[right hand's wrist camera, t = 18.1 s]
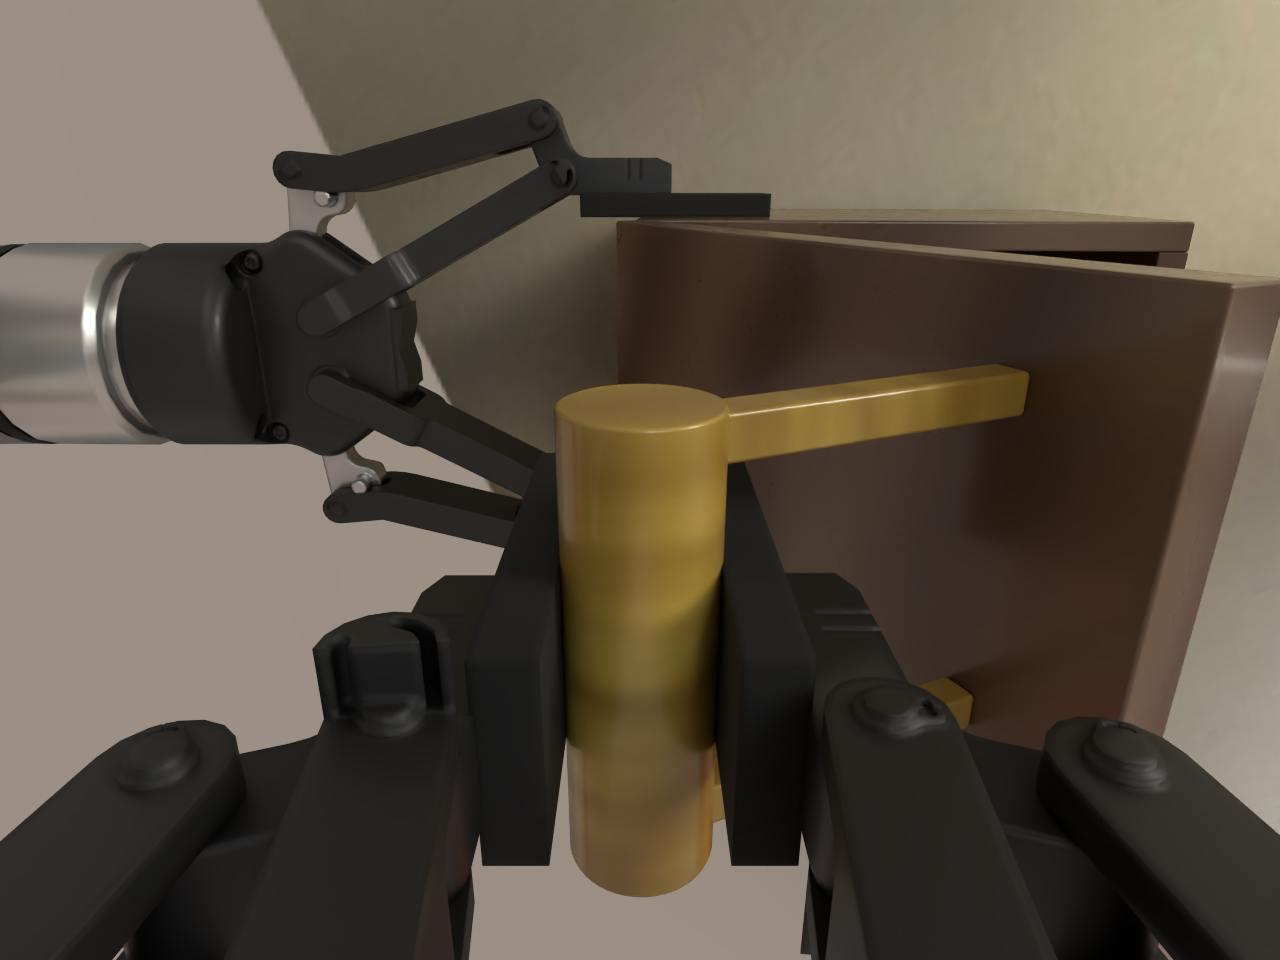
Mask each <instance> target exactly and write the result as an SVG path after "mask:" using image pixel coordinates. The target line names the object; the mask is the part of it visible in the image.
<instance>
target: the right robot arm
mask: <svg viewBox="0 0 1280 960" xmlns="http://www.w3.org/2000/svg"><path fill="white" fill-rule="evenodd" d="M312 650H313V656H314V661H315V667H316V674H317V679H318V686H319V692H320V698H321V704H322V710H323V716H324V720H323V723H322V725H321V728H320V730H319V732H318V735H315V736H313V737H311V738H307V739H304V740H301V741H297V742H293V743H290V744H285V745H280V746H276V747H271V748H266V749H261V750H257V751H252V752H247V753H242V754H239V750H238V746H237V741H236V737H235V735H234V734H233V733H232V732H231V731H230V730H229V729H228V728H227V727H226V726H225V725H222V724H218V723H214V722H210V721H207V720H189V721H176V722H171V723H166V724H164V725H162V724H161V725H158V726H154V727H151V728H148V729H146V730H144V731H141V732H139V733H137V734H135V735H132V736H130V737H128V738H126V739H123V740H121V741H119V742H118V743H116V744H115V745H114V746H112V747H111V748H109V749H108V750H106V751H105V752H103V753H102V754H101V755H99V756H98V757H96V758H95V759H94V760H93V761H92V762H90V763H89V764H88V765H87V766H86V767H85V768H84V769H83V770H81V771H80V772H79V773H78V774H77V775H76V776H75V777H73V778H72V779H71V780H70V781H69V782H68V783H66V784H65V785H64V786H63V787H62V788H61V789H60V790H59V791H57V792H56V793H55V794H54V795H53V796H52V797H50V798H49V799H48V800H47V801H46V802H45V803H44V804H43V805H41V806H40V807H39V808H38V809H37V810H36V811H35V812H33V813H32V814H31V815H30V816H29V817H28V818H27V819H25V820H24V821H23V822H22V823H21V824H20V825H19V826H17V827H16V828H15V829H14V830H13V831H12V832H11V833H9V834H8V835H7V836H6V837H5V838H4V839H3V840H2V841H0V960H112V959H113V958H114V957H115V956H116V954H117V953H118V952H119V951H120V950H121V948H122V947H123V948H124V951H123V952H122V953H121V954H120V956H119V957H118V958H117V959H116V960H469V951H470V941H471V932H472V922H473V912H474V891H473V881H472V871H471V866H472V862H473V858H474V854H475V850H476V846H477V842H478V838H479V834H480V844H481V855H482V865H483V866H549V863H550V856H551V848H552V841H553V833H554V826H555V818H556V810H557V802H558V795H559V788H560V780H561V772H562V765H563V757H564V750H565V742H566V713H565V687H564V660H563V634H562V608H561V582H560V556H559V530H558V504H557V478H556V453H539V456H538V459H537V462H536V464H535V467H534V470H533V473H532V475H531V478H530V481H529V483H528V486H527V489H526V492H525V494H524V497H523V500H522V503H521V505H520V508H519V511H518V513H517V516H516V519H515V522H514V524H513V527H512V530H511V533H510V535H509V538H508V541H507V543H506V546H505V549H504V552H503V554H502V557H501V560H500V563H499V565H498V568H497V571H496V574H495V575H445V576H444V577H442V578H441V579H440V580H438V581H437V582H436V583H434V584H433V585H432V586H430V587H429V588H428V589H426V590H425V591H423V592H422V593H421V595H420V597H419V599H418V601H417V603H416V605H415V607H414V609H413V610H412V612H411V613H409V612H389V613H381V614H375V615H368V616H365V617H362V618H359V619H356V620H353V621H350V622H347V623H344V624H342V625H341V626H339V627H337V628H336V629H334V630H332V631H331V632H329V633H327V634H326V635H324V636H323V638H322V639H321V640H320V641H319V642H318V643H317V644H316V646H315V647H314V648H313V649H312ZM715 744H716V752H717V759H718V767H719V775H720V782H721V790H722V797H723V805H724V812H725V820H726V827H727V835H728V842H729V850H730V858H731V865H732V866H798V864H799V852H800V842H801V831H802V834H803V838H804V842H805V847H806V851H807V855H808V858H809V871H808V881H807V891H806V902H805V912H804V922H803V933H802V943H801V954H809V955H811V959H812V960H1168V959H1167V957H1166V956H1165V955H1164V954H1163V953H1162V951H1161V950H1160V949H1159V948H1158V945H1159V943H1160V944H1161V945H1162V946H1163V948H1164V949H1165V950H1166V951H1167V952H1168V954H1169V955H1170V956H1171V957H1172V959H1173V960H1280V835H1279V834H1278V833H1277V832H1275V831H1274V830H1273V829H1272V828H1271V827H1270V826H1269V825H1267V824H1266V823H1265V822H1264V821H1263V820H1262V819H1260V818H1259V817H1258V816H1257V815H1256V814H1255V813H1254V812H1252V811H1251V810H1250V809H1249V808H1248V807H1247V806H1245V805H1244V804H1243V803H1242V802H1241V801H1240V800H1239V799H1237V798H1236V797H1235V796H1234V795H1233V794H1232V793H1231V792H1229V791H1228V790H1227V789H1226V788H1225V787H1224V786H1222V785H1221V784H1220V783H1219V782H1218V781H1217V780H1216V779H1214V778H1213V777H1212V776H1211V775H1210V774H1209V773H1207V772H1206V771H1205V770H1204V769H1203V768H1202V767H1201V766H1199V765H1198V764H1197V763H1196V762H1195V761H1194V760H1193V759H1191V758H1190V757H1189V756H1188V755H1187V754H1186V753H1184V752H1183V751H1181V750H1180V749H1178V748H1177V747H1175V746H1174V745H1172V744H1171V743H1169V742H1168V741H1167V740H1165V739H1164V738H1162V737H1160V736H1158V735H1156V734H1153V733H1151V732H1149V731H1146V730H1144V729H1142V728H1140V727H1138V726H1136V725H1133V724H1130V723H1126V722H1123V721H1117V720H1115V719H1108V718H1104V717H1081V716H1077V717H1073V718H1069V719H1065V720H1062V721H1058V722H1057V723H1055V724H1054V725H1053V726H1052V727H1051V728H1050V729H1049V730H1048V731H1047V732H1046V736H1045V741H1044V746H1043V750H1042V751H1041V750H1036V749H1032V748H1027V747H1022V746H1017V745H1012V744H1008V743H1003V742H998V741H993V740H989V739H986V738H982V737H979V736H975V735H972V734H969V733H967V732H964V731H962V730H961V729H960V726H959V724H958V722H957V719H956V717H955V716H954V715H953V713H952V712H951V711H950V709H949V708H948V706H947V705H946V704H945V702H943V701H942V700H940V699H939V698H937V697H936V696H934V695H933V694H932V693H930V692H929V691H927V690H926V689H923V688H920V687H918V686H915V685H913V684H910V683H909V682H908V681H907V679H906V677H905V675H904V673H903V671H902V669H901V668H900V666H899V664H898V662H897V660H896V658H895V656H894V654H893V653H892V651H891V649H890V647H889V645H888V643H887V641H886V639H885V638H884V636H883V634H882V632H881V631H879V626H878V624H877V623H876V621H875V619H874V617H873V615H872V614H870V609H869V608H868V606H867V604H866V602H865V600H864V598H863V596H862V594H861V593H860V591H859V590H858V589H857V588H856V587H854V586H853V585H852V584H850V583H849V582H847V581H846V580H845V579H843V578H842V577H841V576H839V575H838V574H837V573H785V571H784V569H783V566H782V563H781V561H780V558H779V555H778V552H777V550H776V547H775V544H774V541H773V539H772V536H771V533H770V531H769V528H768V525H767V522H766V520H765V517H764V514H763V512H762V509H761V506H760V503H759V501H758V498H757V495H756V493H755V490H754V487H753V484H752V482H751V479H750V476H749V473H748V471H747V468H746V465H745V463H744V462H738V463H732V464H728V467H727V492H726V516H725V540H724V561H723V565H722V587H721V612H720V636H719V661H718V686H717V711H716V735H715Z"/></svg>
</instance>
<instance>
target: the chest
mask: <svg viewBox="0 0 1280 960" xmlns="http://www.w3.org/2000/svg"><path fill="white" fill-rule="evenodd" d="M649 220H651V221H662V222H673V223H684V224H695V225H706V226H716V227H727V228H738V229H749V230H760V231H771V232H782V233H793V234H804V235H815V236H826V237H837V238H848V239H859V240H870V241H880V242H891V243H902V244H913V245H924V246H935V247H946V248H957V249H968V250H979V251H990V252H1001V253H1012V254H1023V255H1033V256H1044V257H1055V258H1066V259H1077V260H1088V261H1099V262H1110V263H1121V264H1132V265H1143V266H1154V267H1165V268H1176V269H1185V264H1186V260H1187V256H1188V253H1187V251H1188V250H1189V246H1190V241H1191V237H1192V233H1193V228H1194V222H1188V221H1176V220H1163V219H1151V218H1138V217H1125V216H1113V215H1100V214H1088V213H1075V212H1063V211H1050V210H871V209H770V217H656V216H643V217H641V218H639V219H638V220H636V221H649Z"/></svg>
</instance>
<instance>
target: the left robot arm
mask: <svg viewBox="0 0 1280 960" xmlns="http://www.w3.org/2000/svg"><path fill="white" fill-rule="evenodd" d="M531 147H532V149H533V151H534V154H535V157H536V159H537V162H538V164H539V167H538V168H536V169H535V170H533V171H531V172H530V173H528V174H526V175H525V176H523V177H521V178H520V179H518V180H516V181H515V182H513V183H511V184H509V185H508V186H506V187H504V188H503V189H501V190H499V191H498V192H496V193H494V194H493V195H491V196H489V197H487V198H486V199H484V200H482V201H481V202H479V203H477V204H476V205H474V206H472V207H471V208H469V209H467V210H466V211H464V212H462V213H460V214H459V215H457V216H455V217H454V218H452V219H450V220H449V221H447V222H445V223H444V224H442V225H440V226H439V227H437V228H435V229H433V230H432V231H430V232H428V233H427V234H425V235H423V236H422V237H420V238H418V239H417V240H415V241H413V242H412V243H410V244H408V245H406V246H405V247H403V248H401V249H399V250H398V251H396V252H393V253H391V254H389V255H388V256H386V257H384V258H382V259H381V260H379V261H377V262H376V263H374V264H372V263H371V262H369V261H368V260H366V259H365V258H363V257H362V256H360V255H359V254H357V253H356V252H355V251H353V250H352V249H350V248H349V247H347V246H346V245H344V244H343V243H342V242H340V241H339V240H337V239H336V238H334V237H333V236H331V235H330V234H328V233H327V225H328V222H329V221H330V220H331V218H332V217H334V216H336V215H341V214H346V213H347V212H349V211H350V210H351V209H352V208H353V206H354V202H355V192H368V191H377V190H382V189H386V188H390V187H394V186H397V185H401V184H404V183H408V182H411V181H415V180H418V179H422V178H425V177H429V176H432V175H436V174H439V173H443V172H446V171H450V170H453V169H457V168H460V167H464V166H467V165H471V164H474V163H478V162H481V161H485V160H488V159H492V158H495V157H499V156H502V155H506V154H509V153H513V152H516V151H520V150H523V149H527V148H531ZM671 170H672V164H670V163H668V162H665V161H663V160H661V159H658V158H586V157H582V156H580V155H579V154H578V153H577V152H576V151H575V150H574V149H573V147H572V145H571V143H570V140H569V137H568V135H567V132H566V129H565V126H564V124H563V119H562V117H561V115H560V113H559V112H558V111H557V110H556V109H555V108H554V107H553V106H552V105H551V104H549V103H548V102H547V101H544V100H541V99H535V100H530V101H527V102H523V103H520V104H517V105H513V106H510V107H506V108H503V109H499V110H496V111H492V112H489V113H486V114H482V115H479V116H475V117H472V118H468V119H465V120H461V121H458V122H455V123H451V124H448V125H444V126H441V127H437V128H434V129H430V130H427V131H424V132H420V133H417V134H413V135H410V136H406V137H403V138H399V139H396V140H393V141H389V142H386V143H382V144H379V145H375V146H372V147H368V148H365V149H362V150H358V151H355V152H351V153H348V154H344V155H341V156H337V155H327V154H317V153H306V152H296V151H284V152H281V153H280V154H278V155H277V156H276V158H275V159H274V161H273V172H274V176H275V177H276V179H277V180H278V182H279V183H281V184H282V185H283V186H285V187H287V191H288V209H289V228H290V231H289V232H286V233H284V234H283V235H281V236H280V237H278V238H277V239H275V240H273V241H271V242H268V243H163V244H158V245H156V246H154V247H152V248H151V247H148V246H146V245H143V244H141V243H28V244H11V245H5V246H0V444H30V443H41V444H57V443H59V444H163V443H165V442H168V441H174V442H176V443H180V444H293V445H297V446H301V447H303V448H306V449H308V450H310V451H312V452H314V453H316V454H319V455H322V457H323V461H324V465H325V470H326V474H327V478H328V482H329V486H330V490H331V495H330V496H329V497H328V498H327V499H326V500H325V501H324V504H323V511H324V513H325V516H326V517H327V518H328V519H329V520H331V521H333V522H335V523H350V522H361V521H373V520H387V521H391V522H395V523H399V524H404V525H408V526H412V527H417V528H421V529H425V530H429V531H434V532H438V533H442V534H446V535H451V536H455V537H459V538H463V539H468V540H472V541H476V542H481V543H485V544H489V545H493V546H498V547H502V548H505V546H506V543H507V541H508V538H509V535H510V533H511V530H512V527H513V524H514V522H515V519H516V516H517V513H518V511H519V508H520V505H521V503H522V500H521V499H517V498H513V497H509V496H505V495H501V494H496V493H492V492H488V491H484V490H479V489H475V488H471V487H467V486H463V485H459V484H455V483H450V482H446V481H442V480H438V479H434V478H430V477H425V476H421V475H417V474H412V473H407V472H396V471H390V472H386V470H385V467H384V465H383V464H382V463H381V462H378V461H374V460H369V459H365V458H363V457H361V456H360V455H359V454H358V453H357V452H356V450H355V447H354V445H356V444H357V443H358V442H360V441H361V440H362V439H364V438H365V437H366V436H368V435H369V434H370V433H371V432H373V431H374V430H375V431H377V432H380V433H381V434H384V435H386V436H388V437H390V438H392V439H394V440H396V441H398V442H400V443H402V444H405V445H407V446H418V447H422V448H424V449H426V450H428V451H430V452H432V453H434V454H436V455H438V456H441V457H443V458H445V459H447V460H449V461H451V462H453V463H455V464H457V465H459V466H461V467H463V468H465V469H467V470H469V471H471V472H473V473H475V474H477V475H479V476H481V477H483V478H485V479H488V480H490V481H492V482H494V483H496V484H498V485H500V486H502V487H504V488H506V489H508V490H510V491H512V492H514V493H516V494H518V495H520V496H522V497H524V494H525V492H526V489H527V486H528V483H529V481H530V478H531V475H532V473H533V470H534V467H535V464H536V462H537V459H538V456H539V453H545V452H543V451H541V450H539V449H537V448H535V447H533V446H531V445H529V444H527V443H525V442H523V441H521V440H519V439H517V438H515V437H513V436H511V435H509V434H507V433H505V432H503V431H501V430H499V429H497V428H495V427H493V426H491V425H489V424H487V423H485V422H483V421H481V420H479V419H477V418H475V417H473V416H471V415H469V414H467V413H465V412H463V411H461V410H459V409H457V408H455V407H453V406H451V405H449V404H448V403H446V401H445V400H444V399H443V398H442V397H441V396H440V395H438V394H436V393H434V392H432V391H430V390H428V389H426V388H424V387H422V386H420V385H419V383H420V382H421V381H422V380H423V375H422V364H421V359H420V356H419V354H418V351H417V348H416V345H415V343H414V337H415V331H416V326H417V312H416V302H415V301H411V300H410V297H409V295H408V294H407V292H406V291H407V290H408V289H410V288H412V287H413V286H415V285H417V284H419V283H420V282H422V281H424V280H425V279H427V278H429V277H431V276H432V275H434V274H435V273H437V272H438V271H440V270H442V269H444V268H445V267H447V266H449V265H450V264H452V263H454V262H456V261H457V260H459V259H461V258H463V257H464V256H466V255H468V254H469V253H471V252H473V251H475V250H476V249H478V248H480V247H481V246H483V245H485V244H487V243H488V242H490V241H492V240H493V239H495V238H497V237H499V236H500V235H502V234H504V233H506V232H507V231H509V230H511V229H512V228H514V227H516V226H518V225H519V224H521V223H523V222H524V221H526V220H528V219H530V218H531V217H533V216H535V215H536V214H538V213H540V212H542V211H543V210H545V209H547V208H549V207H550V206H552V205H554V204H555V203H557V202H559V201H561V200H562V199H564V198H566V197H567V196H569V195H580V212H581V217H643V216H656V217H770V204H771V194H766V193H671Z"/></svg>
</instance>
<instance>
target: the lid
mask: <svg viewBox="0 0 1280 960" xmlns="http://www.w3.org/2000/svg"><path fill="white" fill-rule="evenodd" d="M1279 317H1280V278H1274V277H1263V276H1252V275H1241V274H1230V273H1219V272H1208V271H1197V270H1187V269H1176V268H1165V267H1154V266H1143V265H1132V264H1121V263H1110V262H1099V261H1088V260H1077V259H1066V258H1055V257H1044V256H1033V255H1023V254H1012V253H1001V252H990V251H979V250H968V249H957V248H946V247H935V246H924V245H913V244H902V243H891V242H880V241H870V240H859V239H848V238H837V237H826V236H815V235H804V234H793V233H782V232H771V231H760V230H749V229H738V228H727V227H716V226H706V225H695V224H684V223H673V222H662V221H651V220H649V221H618V222H617V318H618V385H609V386H601V387H595V388H590V389H585V390H582V391H578V392H575V393H572V394H569V395H567V396H565V397H563V398H562V399H560V400H559V401H558V402H557V403H556V405H555V408H554V425H555V451H556V478H557V504H558V530H559V556H560V582H561V608H562V634H563V660H564V687H565V713H566V740H567V767H568V793H569V819H570V844H571V851H572V855H573V857H574V859H575V862H576V863H577V865H578V867H579V868H580V870H581V871H582V872H583V873H584V874H585V876H586V877H588V878H589V879H590V880H591V881H592V882H594V883H595V884H597V885H598V886H600V887H602V888H604V889H606V890H608V891H610V892H613V893H616V894H620V895H624V896H631V897H651V896H658V895H662V894H666V893H669V892H672V891H675V890H677V889H679V888H681V887H683V886H684V885H686V884H687V883H689V882H690V881H691V880H693V879H694V878H695V877H696V876H697V875H698V874H699V873H700V871H701V870H702V869H703V867H704V866H705V864H706V862H707V860H708V858H709V856H710V852H711V848H712V829H713V823H714V822H716V821H719V820H722V819H725V812H724V805H723V797H722V790H721V782H720V775H719V767H718V759H717V753H716V744H715V735H716V711H717V686H718V661H719V636H720V612H721V587H722V565H723V561H724V540H725V516H726V492H727V467H728V464H732V463H738V462H744V463H745V465H746V468H747V471H748V473H749V476H750V479H751V482H752V484H753V487H754V490H755V493H756V495H757V498H758V501H759V503H760V506H761V509H762V512H763V514H764V517H765V520H766V522H767V525H768V528H769V531H770V533H771V536H772V539H773V541H774V544H775V547H776V550H777V552H778V555H779V558H780V561H781V563H782V566H783V569H784V571H785V573H837V574H838V575H839V576H841V577H842V578H843V579H845V580H846V581H847V582H849V583H850V584H852V585H853V586H854V587H856V588H857V589H858V590H859V591H860V593H861V594H862V596H863V598H864V600H865V602H866V604H867V606H868V608H869V609H870V614H872V615H873V617H874V619H875V621H876V623H877V624H878V626H879V631H881V632H882V634H883V636H884V638H885V639H886V641H887V643H888V645H889V647H890V649H891V651H892V653H893V654H894V656H895V658H896V660H897V662H898V664H899V666H900V668H901V669H902V671H903V673H904V675H905V677H906V679H907V681H908V682H909V683H910V684H913V685H915V686H918V687H920V688H923V689H926V690H927V691H929V692H930V693H932V694H933V695H934V696H936V697H937V698H939V699H940V700H942V701H943V702H945V704H946V705H947V706H948V708H949V709H950V711H951V712H952V713H953V715H954V716H955V717H956V719H957V722H958V724H959V726H960V729H961V730H962V731H964V732H967V733H969V734H972V735H975V736H979V737H982V738H986V739H989V740H993V741H998V742H1003V743H1008V744H1012V745H1017V746H1022V747H1027V748H1032V749H1036V750H1041V751H1042V750H1043V746H1044V741H1045V736H1046V732H1047V731H1048V730H1049V729H1050V728H1051V727H1052V726H1053V725H1054V724H1055V723H1057V722H1058V721H1062V720H1065V719H1069V718H1073V717H1077V716H1081V717H1104V718H1108V719H1115V720H1117V721H1123V722H1126V723H1130V724H1133V725H1136V726H1138V727H1140V728H1142V729H1144V730H1146V731H1149V732H1151V733H1153V734H1156V735H1158V736H1160V737H1162V738H1163V734H1164V730H1165V727H1166V723H1167V720H1168V716H1169V712H1170V709H1171V705H1172V702H1173V698H1174V694H1175V691H1176V687H1177V684H1178V680H1179V676H1180V673H1181V669H1182V666H1183V662H1184V659H1185V655H1186V651H1187V648H1188V644H1189V641H1190V637H1191V633H1192V630H1193V626H1194V623H1195V619H1196V615H1197V612H1198V608H1199V605H1200V601H1201V597H1202V594H1203V590H1204V587H1205V583H1206V579H1207V576H1208V572H1209V569H1210V565H1211V561H1212V558H1213V554H1214V551H1215V547H1216V543H1217V540H1218V536H1219V533H1220V529H1221V525H1222V522H1223V518H1224V515H1225V511H1226V507H1227V504H1228V500H1229V497H1230V493H1231V489H1232V486H1233V482H1234V479H1235V475H1236V471H1237V468H1238V464H1239V461H1240V457H1241V454H1242V450H1243V446H1244V443H1245V439H1246V436H1247V432H1248V428H1249V425H1250V421H1251V418H1252V414H1253V410H1254V407H1255V403H1256V400H1257V396H1258V392H1259V389H1260V385H1261V382H1262V378H1263V374H1264V371H1265V367H1266V364H1267V360H1268V356H1269V353H1270V349H1271V346H1272V342H1273V338H1274V335H1275V331H1276V328H1277V324H1278V320H1279Z"/></svg>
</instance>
